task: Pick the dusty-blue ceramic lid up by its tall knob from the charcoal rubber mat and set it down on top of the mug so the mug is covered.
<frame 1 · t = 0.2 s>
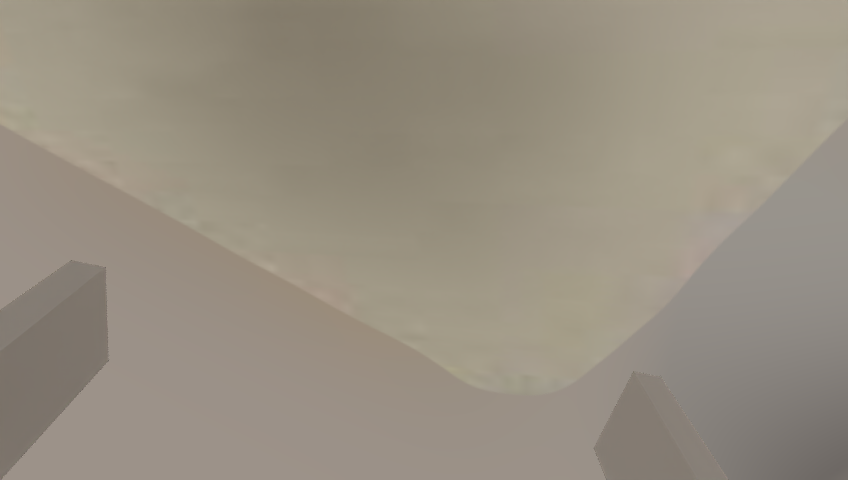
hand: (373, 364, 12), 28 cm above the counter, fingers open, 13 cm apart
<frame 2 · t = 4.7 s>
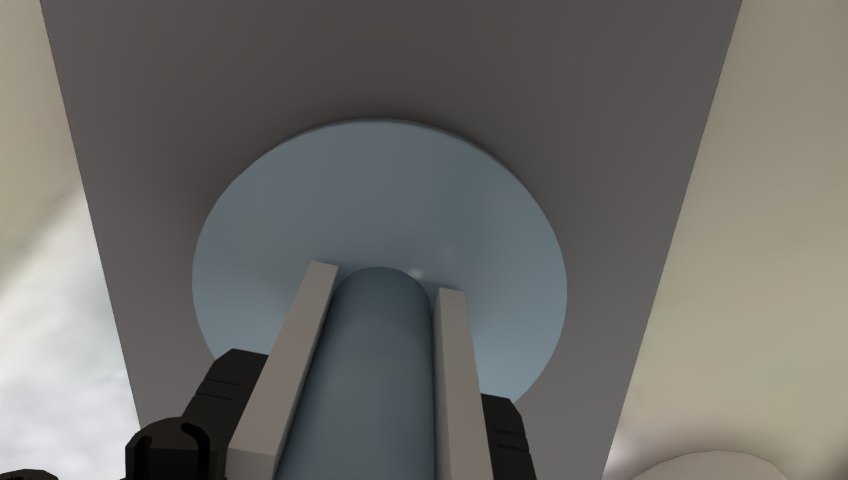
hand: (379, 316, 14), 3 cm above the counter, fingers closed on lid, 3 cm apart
mat: (384, 275, 17), on the counter
lid: (383, 294, 16), point 1 cm above the counter, touching gripper
when the fingers open (13 cm above the counter, at t = 8.0 s): lid drops 2 cm, resting on mug.
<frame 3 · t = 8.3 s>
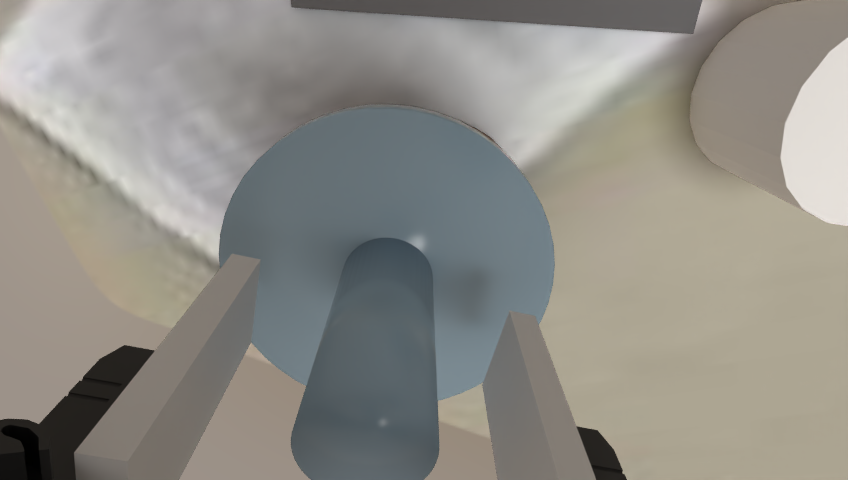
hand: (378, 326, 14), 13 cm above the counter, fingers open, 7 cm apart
toilet paper: (813, 86, 24), on the counter
lid: (389, 264, 17), point 9 cm above the counter, touching mug
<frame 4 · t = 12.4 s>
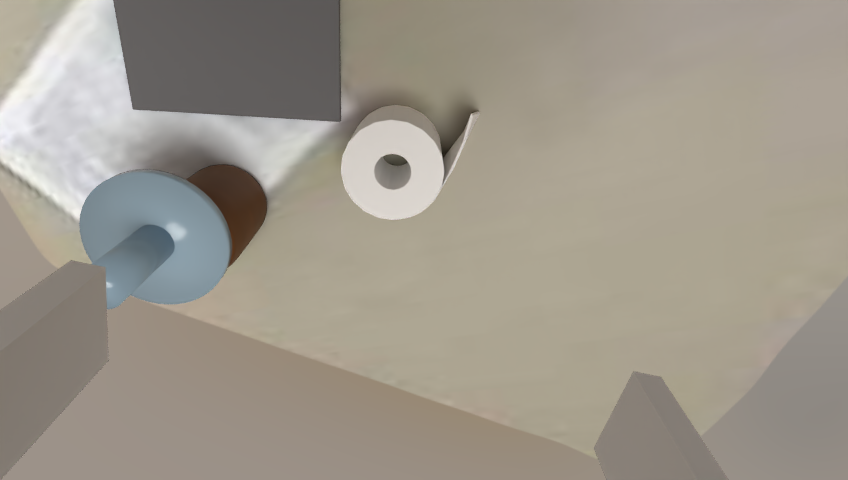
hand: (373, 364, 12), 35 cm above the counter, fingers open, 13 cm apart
mat: (228, 2, 40), on the counter
toilet paper: (417, 146, 46), on the counter
mug: (206, 196, 47), on the counter, touching lid
lid: (160, 237, 39), point 9 cm above the counter, touching mug
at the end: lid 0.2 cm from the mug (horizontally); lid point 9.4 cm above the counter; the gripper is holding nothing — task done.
